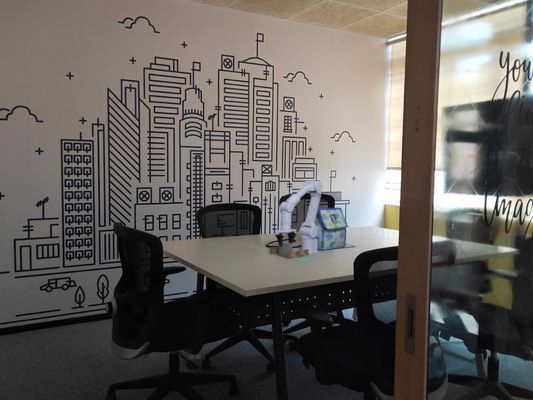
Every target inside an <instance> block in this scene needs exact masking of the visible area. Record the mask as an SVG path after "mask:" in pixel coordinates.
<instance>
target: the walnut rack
mask: <svg viewBox="0 0 533 400" xmlns="http://www.w3.org/2000/svg"><path fill="white" fill-rule="evenodd" d="M269 254H270V255H274V256H278V257H281V258H284V259H287V260H292V259H295V258H301V257H309V254H310V253H309V250H308V249H306V250H302V249H301V250H300V249H299V250H293V252H287V256H284V255H280V254H279V246H273V247H270V248H269Z"/></svg>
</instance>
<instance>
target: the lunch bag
mask: <svg viewBox="0 0 533 400" xmlns="http://www.w3.org/2000/svg"><path fill="white" fill-rule="evenodd" d="M315 225H316V226H317V235H316V237H315V238H316V239H317V242H318V243H317V250H319V251H321V252H322V251H323V252H324V251H327V250H333V249H339V248H344V247H345V246H346V242H347V241H346V240H347V227H348V222H347V220H346V217H345V215H344V213H343V210H342V207H329V208H327V207H325V208H320V207H318V210H317V214H316V219H315Z"/></svg>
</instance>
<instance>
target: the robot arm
mask: <svg viewBox="0 0 533 400" xmlns="http://www.w3.org/2000/svg"><path fill="white" fill-rule="evenodd" d="M323 187H324V186H323V183H322V182H321V181H320V180H310V179H307V180H305V181H304V182H303V185H302V186H301V187H300V188H299V190H297V192H296V193H291V194H290V196H289V197H288V198H287V199H286V200H285V201H282V202H281V203H280V205H279V211H280V214H281V218H280V219H281V220H280V222H281V223H280V229H278V230H275V231H274V232H275V234H274V235H275V238H276V240H277V243H278V247H279V246H280V247H282V244H283V241H284V237H285V234H287V238H288V243H293V242H294V240H295V238H296V236H297V229H296V228H292V212H294V210H295V206H297V204H299V203H300V202H301V198H302V197H303V196H304V195H306V194H307V193H308V195H310V202H309V206H308V210H307V213H306V219H305V221H304V222H302V223H301V226H300V228H299V231H298V232H299V235H300V237H301V250H306V249H308V250H309V254H313V253H318V252H319V251H318V249H317V243H318V242H317V239H316V238H315V237H316V235H317V226H316V225H315V219H316V214H317V210H318V209H319V205H320V201H321V197H322V191H323ZM293 244H294V243H293Z"/></svg>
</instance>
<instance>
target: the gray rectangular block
mask: <svg viewBox="0 0 533 400" xmlns="http://www.w3.org/2000/svg"><path fill="white" fill-rule="evenodd" d="M293 244H294V243H289V241H288V242H287V241H284V240H283V244H282V247H280V246H279V245H278V247H279V253H278V254H280V255H284V256H287V252H292V250H293Z"/></svg>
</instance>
